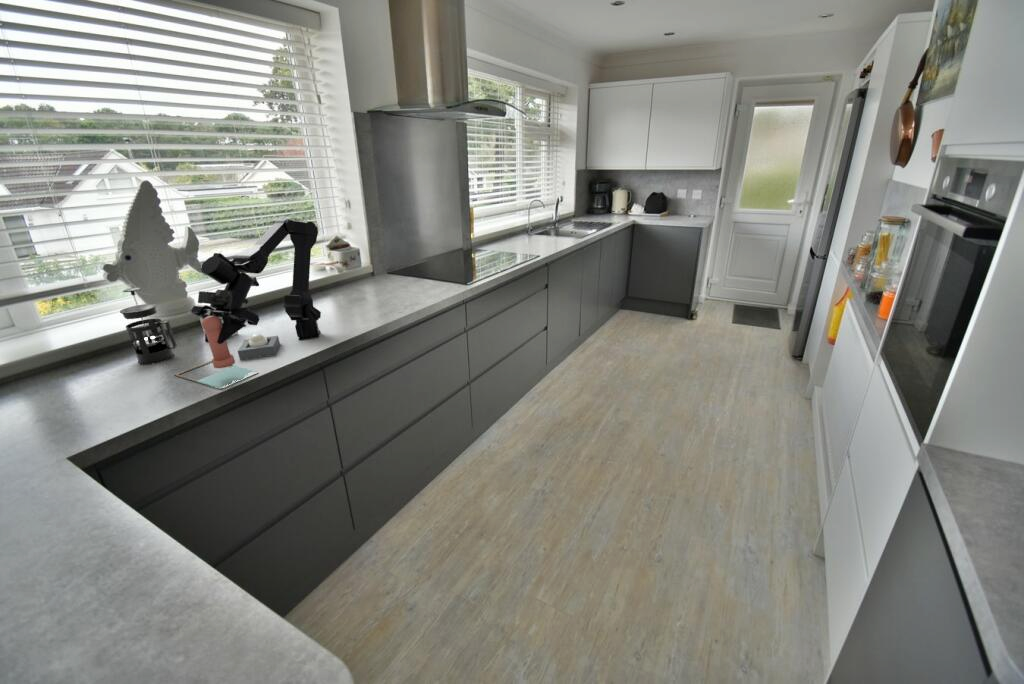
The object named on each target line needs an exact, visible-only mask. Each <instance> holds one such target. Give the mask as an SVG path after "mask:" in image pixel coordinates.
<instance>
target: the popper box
mask: <svg viewBox="0 0 1024 684" xmlns="http://www.w3.org/2000/svg"><path fill="white" fill-rule="evenodd" d="M265 337H266V338H267V341H268V345H264V346H257V347H250V345H249V340H250V339H251V338H250V339H244V340H243V342H242V344H241V345H240V347H238V350H237V354H238V358H239V360H240V359H243V360H247V359H246V358H250V359H254V358H253V357H257V358H260V357H259V356H264V357H268V356H267V355H271V356H275V355H276V354H277V352H278V350H279V347H280V344H281V342H280V337H279V335H272V336H265ZM277 349H278V350H277Z"/></svg>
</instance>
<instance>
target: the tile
mask: <svg viewBox="0 0 1024 684" xmlns="http://www.w3.org/2000/svg"><path fill="white" fill-rule="evenodd" d="M253 371H254V372H255V371H256V370H252V369H248V368H246V367H245V368H244V367H242V366H237V365H233V366H232V367H230V368H229V367H228V368H227V367H226V368H225V369H222V370H219V371H218V373H217V372H214V373H212V374H213V375H212V374H209V375H208V377H207V376H205V377H203V379H202V378H200V379H197V380H198V381H197V382H199V383H198V384H200V383H202V384H201V385H203V384H205V385H204V386H207V385H208V386H207V387H210V386H213V387H217V388H221V387H223V386H224V385H225V386H226V385H227V384H228V385H229V384H231V383H232V381H233V380H234V381H235V380H236V381H237V380H241V379H243V378H244V377H245V375H246V374H247V375H248V373H250V372H253ZM247 375H246V376H247ZM236 381H235V382H236ZM197 382H196V383H197ZM213 387H212V388H213Z"/></svg>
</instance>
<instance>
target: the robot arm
mask: <svg viewBox="0 0 1024 684" xmlns="http://www.w3.org/2000/svg"><path fill="white" fill-rule="evenodd" d="M318 233H319V229H318V226H317V224H315V222H313V221H311V220H310V221H307V220H306V221H302V220H299V221H298V220H297V221H296V220H293V219H289V218H287V219H286V218H278V219H276V220H275V221H274V222H273V224H272V225H271V226H270V227H269V229H267V231H266V232H265V233H264V234H262V236H260V238H259V239H258V240H257V241H256V242H254V244H253V245H251V246H249V247H247V248H244V249H243V250H241V251H240V252H238V253H236V254H235V255H234V257H233V258H232V259H228V258H227V257H226V256H225V255H224V254H222V253H221V252H214V253H213V256H211V257H208V258H207V259H205V261H203V263H202V264H201V268H200V269H201V272H202V273H203V274H204V275H206V276H207V277H209V278H211V280H214V281H216V282H217V283H219V284H221V285H225V287H224V289H216V290H215V291H214V292H213V291H200V290H199V291H198V297H197V303H198V304H195V305H193V306H192V309H191V311H190V313H191V314H194V315H195V316H196V317H201V318H203V319H204V318H206V317H208V316H216V317H218V318H219V319H220V317H222V318H223V323H222V329H221V332H220V335H219V337H218V341H217V343H219V344H222V343H223V342H224V341H226V342H227V341H228V339H230V338H231V336H232V335H233V334H234V333H236V332H237V331H238V332H239V331H240V330H241V329H243V328H246V327H247V324H248V325H250V326H258V324H259V321H260V316H259V314H257V313H255V312H254V311H252V310H251V309H249V308H247V307H243V306H244V305H248V303H249V300H248V299H247V296H248V294H249V291H250V290H251V287H260V284H259V282H258V280H257V277H256V276H251V275H249V274H261V273H262V272H264V270H265V268H266V267H267V264H268V263H269V257H270V255H271V254H272V253H273V251H274V250H275V249H276V248H277V247H278V246H279V245H280V244H281V243H282V242H283V241H284V240H285V238H287V236H289V237H290V238H289V239H290V241H291V243H292V245H293V246H294V247H293V248H294V254H293V268H292V269H293V271H292V288H291V291H290V293H289V294H285V295H284V304H283V307H284V311H285V314H287V316H288V318H289V319H290V320H291V321H293V322H294V321H295V323H296V324H295V326H294V329H295V333H296V335H297V338H298V341H302V340H308V339H310V340H311V339H317V338H319V337H320V335H321V330H320V327H319V323H318V321H319V319H321V315H322V312H321V311H320V310H319V309H317V308H316V307H314V300H313V298H312V296H311V294H310V292H309V288H310V271H311V255H312V253H311V251H312V248H314V245H315V244H316V243H317V240H318V235H319V234H318ZM204 303H207V304H211V305H210V306H211V307H213V308H216V310H215V309H213V308H211V307H209V306H207V305H201V304H204ZM246 321H247V324H245V323H246ZM232 337H233V336H232ZM204 342H205V343H207V344H209V341H208V338H207V335H206V332H205V334H204Z"/></svg>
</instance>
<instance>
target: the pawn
mask: <svg viewBox="0 0 1024 684" xmlns="http://www.w3.org/2000/svg"><path fill="white" fill-rule="evenodd" d="M201 327H203V328H202V330H203V329H204V330H205V332H206V335H207V338H208V341H209V343H208V344H209V348H210V351H211V354H212V356H213V357H212V359H211V361H212V362H211V363H212V366H213V368H215V369H224V368H225V369H226V368H227V367H228V368H229V366H231V365H233V366H234V364H235V363H236V360H235V357H234V355H233V354H232V353H230V348H229V346H228V343H227V340H226V341H224V342H223V343H222V344H219V343H217V341H218V337H219V335H220V332H221V329H222V321H221V320H220V319H219V318H218V317H216V316H208V317H206V318H204V320H203V321H202V325H201Z"/></svg>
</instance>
